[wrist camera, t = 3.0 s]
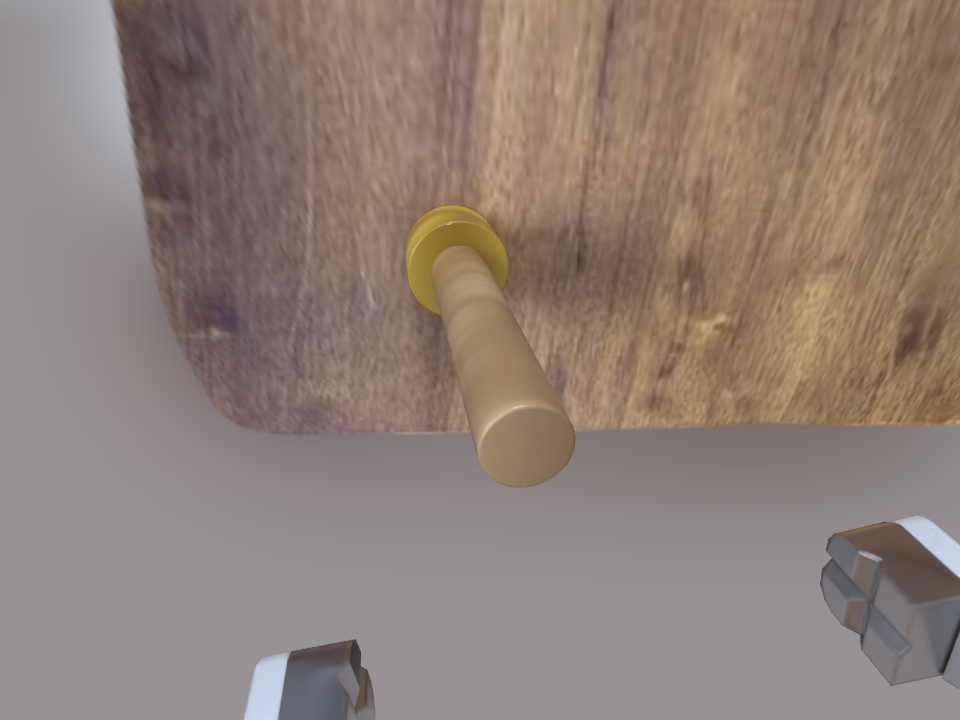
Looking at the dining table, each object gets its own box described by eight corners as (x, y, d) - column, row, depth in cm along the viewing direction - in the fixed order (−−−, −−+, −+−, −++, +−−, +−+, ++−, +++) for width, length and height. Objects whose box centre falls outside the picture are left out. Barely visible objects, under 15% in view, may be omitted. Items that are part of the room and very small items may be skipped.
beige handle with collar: (414, 302, 29) (451, 536, 15) (396, 213, 27) (419, 388, 13) (501, 286, 29) (618, 499, 15) (490, 197, 27) (614, 350, 13)
